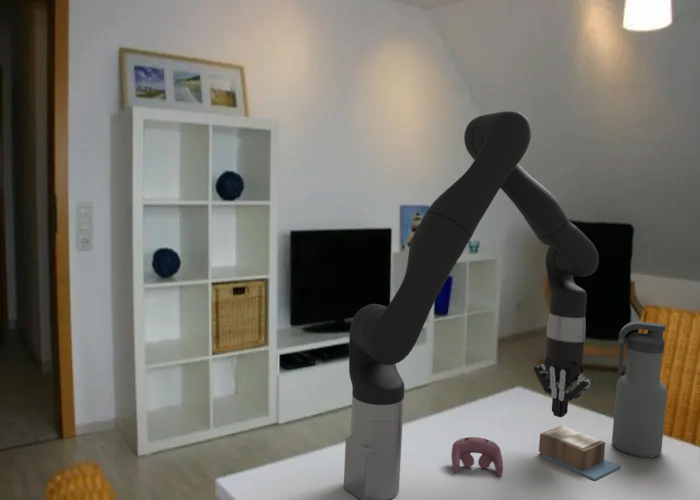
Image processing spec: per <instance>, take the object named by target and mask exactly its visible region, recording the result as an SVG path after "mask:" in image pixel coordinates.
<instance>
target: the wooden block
mask: <svg viewBox="0 0 700 500" xmlns="http://www.w3.org/2000/svg"><path fill="white" fill-rule="evenodd" d="M605 449H606V441H604V440H601V439H599V438H596V437H593V436H591V435H589V434H586V433H583V432H580V431H578V430H576V429H573V428H570V427H568V426H565V425H560V426H558V427H555V428H551V429H549V430H546V431H544V432H541V433H539V444H538V453H541V454H545V455H547V456H550V457H552V458H554V459H556V460H559V461H561V462H563V463H566V464H568V465H570V466H573V467H575V468H577V469H579V470H582V471H584V470H586V469H588V468H590V467H592V466H594V465H596V464H598V463H600V462H603V461H604V459H605V452H606V450H605Z"/></svg>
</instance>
